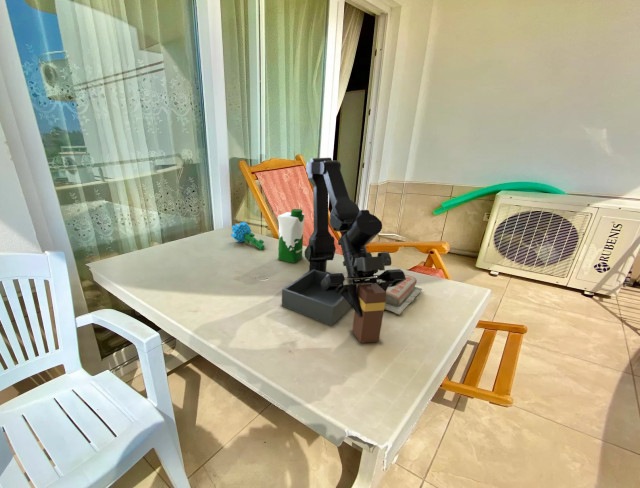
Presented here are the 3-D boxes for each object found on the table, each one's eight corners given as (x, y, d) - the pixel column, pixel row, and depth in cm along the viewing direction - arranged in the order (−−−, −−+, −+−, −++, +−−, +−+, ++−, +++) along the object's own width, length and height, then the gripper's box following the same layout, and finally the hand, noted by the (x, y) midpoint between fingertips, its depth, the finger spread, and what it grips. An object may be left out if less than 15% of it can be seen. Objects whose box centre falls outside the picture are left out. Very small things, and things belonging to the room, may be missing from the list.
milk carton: (295, 264, 115) (297, 213, 108) (274, 260, 120) (275, 210, 113) (305, 257, 122) (307, 208, 115) (285, 253, 127) (286, 206, 120)
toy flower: (253, 258, 131) (229, 239, 143) (268, 253, 137) (243, 235, 148) (256, 241, 127) (231, 222, 138) (272, 236, 132) (246, 219, 143)
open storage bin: (312, 284, 100) (313, 269, 98) (359, 299, 90) (361, 282, 88) (281, 305, 88) (281, 289, 86) (331, 326, 78) (333, 307, 76)
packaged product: (390, 268, 98) (424, 277, 91) (388, 282, 99) (421, 292, 93) (365, 288, 86) (402, 300, 79) (363, 303, 88) (399, 316, 81)
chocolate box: (351, 331, 75) (357, 284, 70) (369, 329, 75) (376, 283, 71) (360, 343, 71) (366, 294, 66) (379, 341, 71) (387, 292, 66)
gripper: (328, 241, 68) (343, 310, 61) (408, 237, 69) (431, 304, 63) (315, 260, 78) (327, 321, 72) (385, 256, 79) (403, 315, 73)
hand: (371, 316), depth 69 cm, fingers closed on chocolate box, 4 cm apart
